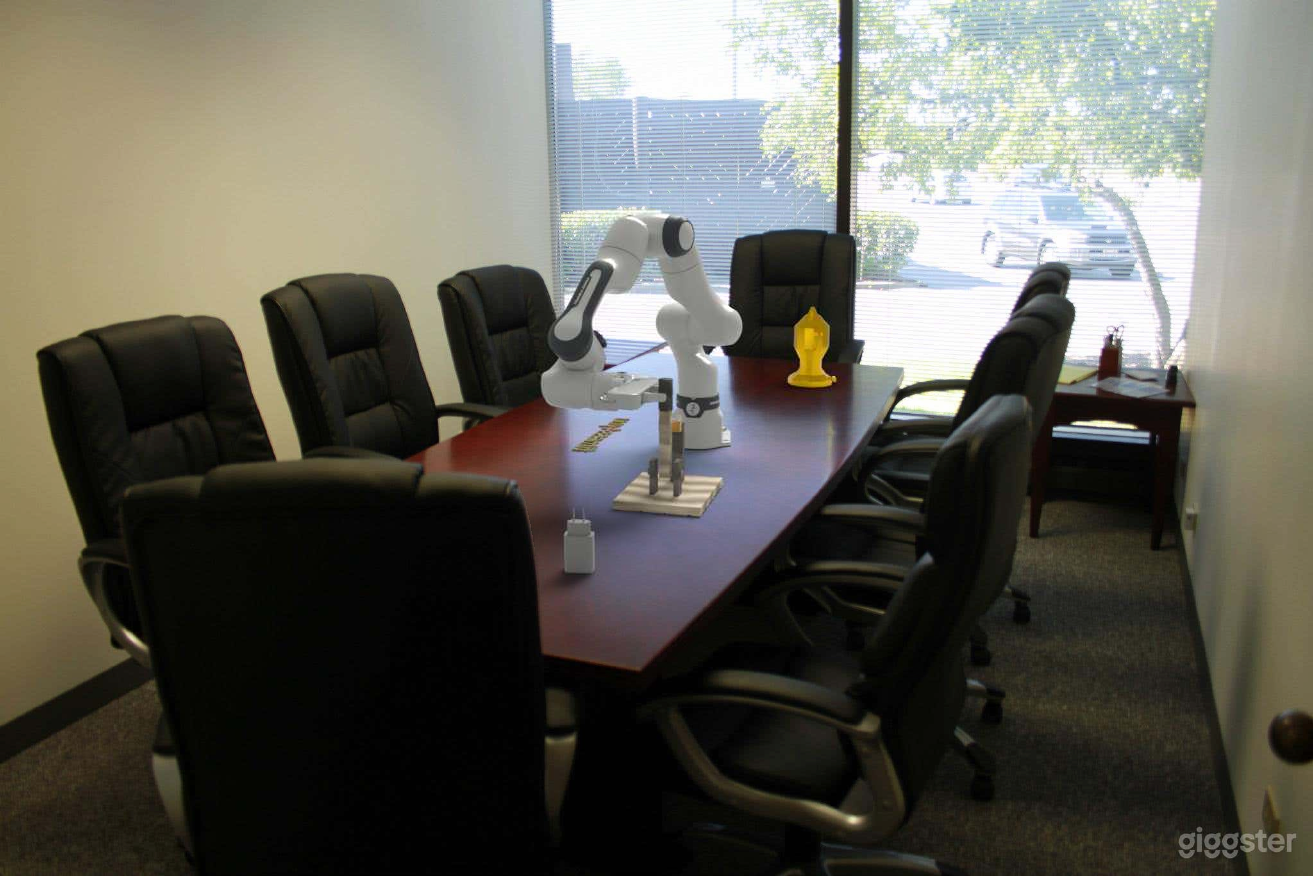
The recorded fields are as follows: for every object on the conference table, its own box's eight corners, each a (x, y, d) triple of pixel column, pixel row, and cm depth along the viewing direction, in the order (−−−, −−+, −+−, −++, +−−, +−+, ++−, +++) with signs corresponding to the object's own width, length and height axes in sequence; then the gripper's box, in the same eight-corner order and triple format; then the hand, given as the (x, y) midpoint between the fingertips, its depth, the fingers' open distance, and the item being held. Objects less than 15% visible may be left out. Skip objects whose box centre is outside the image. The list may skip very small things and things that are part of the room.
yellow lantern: (831, 376, 374) (834, 303, 367) (839, 389, 350) (843, 310, 344) (785, 376, 375) (787, 303, 368) (790, 388, 351) (793, 310, 344)
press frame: (642, 479, 241) (642, 415, 237) (722, 485, 236) (723, 420, 232) (613, 509, 219) (612, 438, 215) (700, 516, 213) (701, 444, 210)
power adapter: (567, 566, 185) (565, 505, 182) (595, 567, 185) (594, 506, 182) (564, 572, 182) (562, 511, 179) (592, 573, 182) (591, 512, 179)
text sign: (565, 452, 268) (592, 453, 266) (565, 449, 268) (592, 451, 266) (610, 419, 305) (635, 421, 303) (610, 417, 305) (635, 418, 303)
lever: (660, 474, 224) (660, 377, 218) (674, 475, 223) (674, 378, 218) (656, 478, 221) (656, 380, 215) (670, 479, 220) (670, 380, 215)
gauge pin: (669, 421, 232) (669, 411, 232) (689, 422, 231) (689, 412, 230) (658, 430, 223) (658, 420, 223) (679, 432, 222) (679, 421, 221)
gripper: (594, 386, 210) (657, 389, 207) (623, 370, 229) (680, 372, 226) (595, 415, 212) (657, 418, 208) (623, 396, 231) (680, 399, 227)
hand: (669, 394), depth 217 cm, fingers open, 5 cm apart
